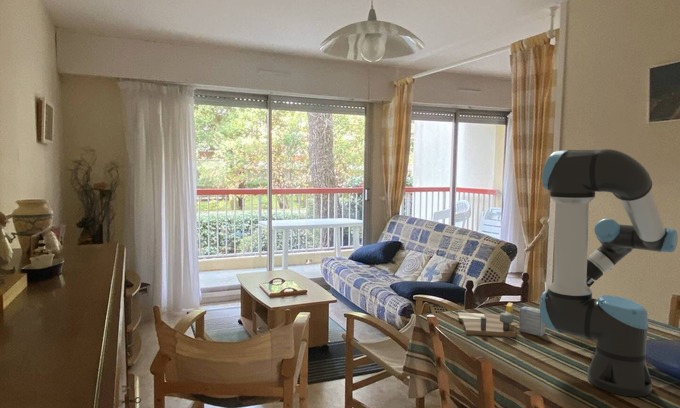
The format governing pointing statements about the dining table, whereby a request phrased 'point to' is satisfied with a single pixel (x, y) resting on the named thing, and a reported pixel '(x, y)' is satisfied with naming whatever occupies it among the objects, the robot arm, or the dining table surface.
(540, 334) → the medicine box
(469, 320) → the lock plate
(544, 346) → the dining table surface
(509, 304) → the latch arm
